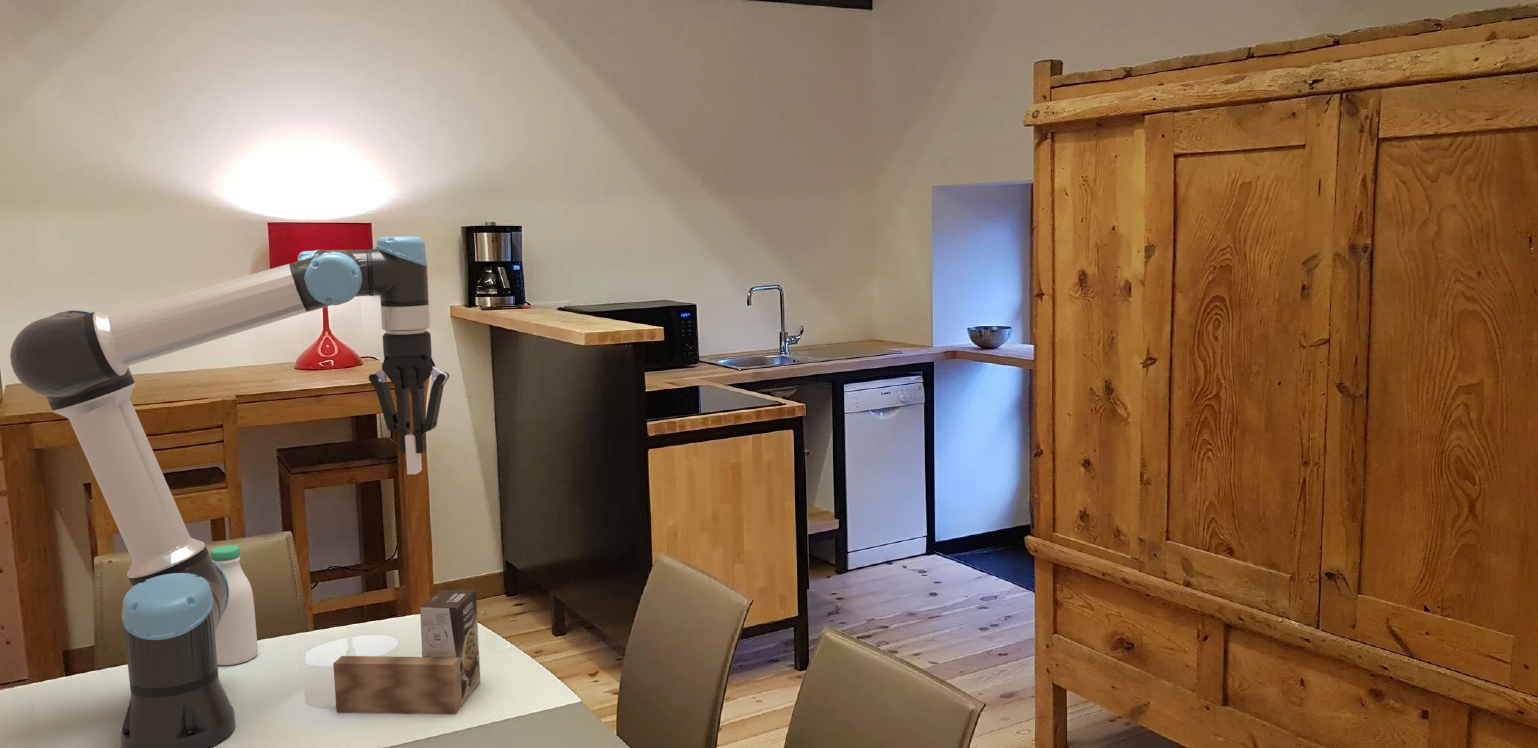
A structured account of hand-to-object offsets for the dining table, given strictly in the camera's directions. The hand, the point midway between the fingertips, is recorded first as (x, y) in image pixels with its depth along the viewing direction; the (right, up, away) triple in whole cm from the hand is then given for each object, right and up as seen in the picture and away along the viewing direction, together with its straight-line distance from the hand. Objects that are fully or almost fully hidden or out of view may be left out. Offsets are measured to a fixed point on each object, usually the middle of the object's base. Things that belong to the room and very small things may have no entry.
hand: (414, 472), depth 189 cm
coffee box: (+8, -36, -5) cm, 37 cm away
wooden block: (+1, -36, -11) cm, 38 cm away
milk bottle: (-35, -34, +11) cm, 50 cm away
